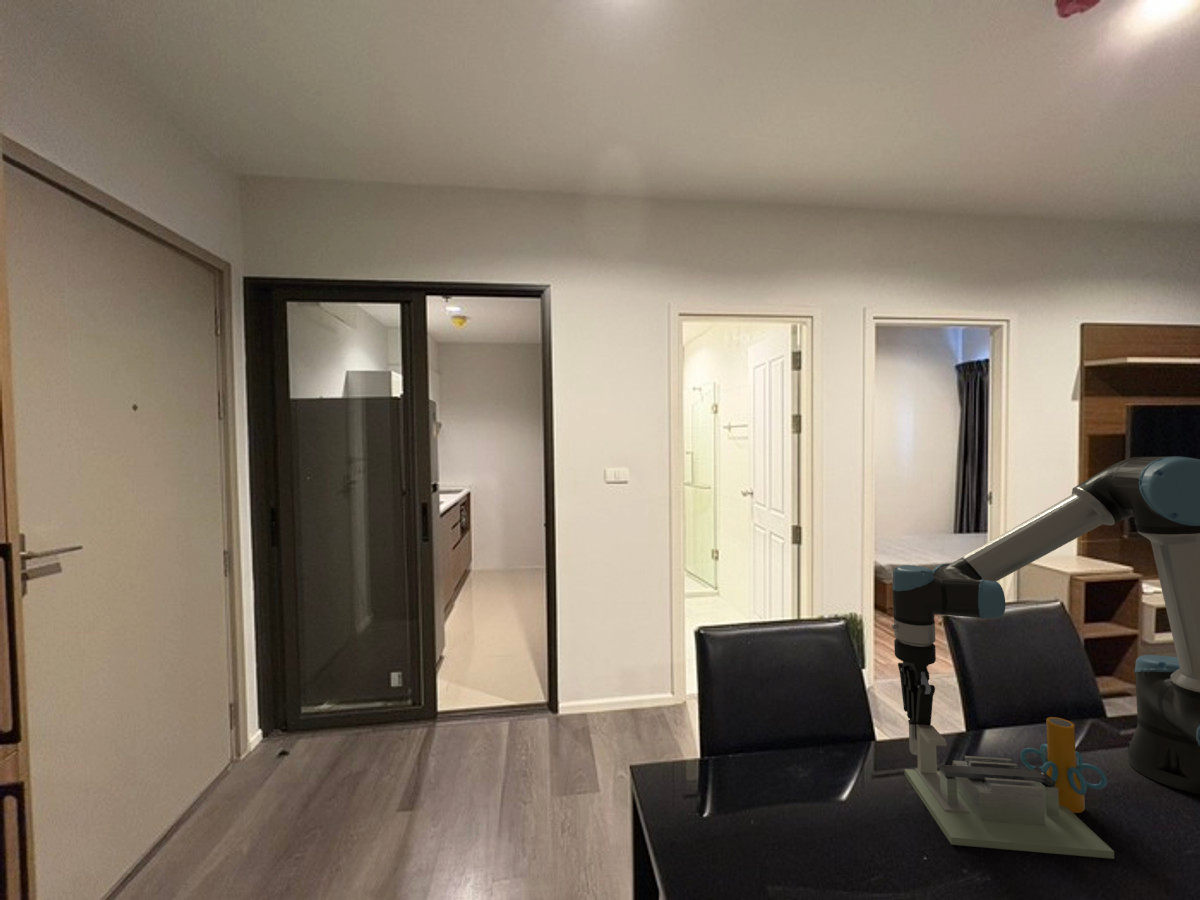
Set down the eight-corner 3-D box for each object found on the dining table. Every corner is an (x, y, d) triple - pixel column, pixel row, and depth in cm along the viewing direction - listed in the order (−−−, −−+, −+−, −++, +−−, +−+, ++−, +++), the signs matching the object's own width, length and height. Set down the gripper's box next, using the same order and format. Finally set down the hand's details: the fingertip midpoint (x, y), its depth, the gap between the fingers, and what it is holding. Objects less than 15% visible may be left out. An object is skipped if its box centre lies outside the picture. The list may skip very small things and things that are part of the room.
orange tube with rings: (1121, 828, 93) (1118, 741, 93) (1053, 822, 95) (1050, 737, 95) (1072, 786, 105) (1070, 708, 105) (1013, 781, 107) (1010, 705, 107)
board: (1035, 783, 106) (1035, 776, 106) (1114, 858, 86) (1113, 849, 86) (904, 774, 110) (904, 767, 110) (951, 844, 90) (951, 835, 90)
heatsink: (1034, 792, 102) (1033, 759, 102) (1071, 828, 92) (1069, 791, 92) (932, 784, 105) (931, 752, 105) (957, 819, 95) (956, 783, 95)
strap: (1041, 773, 99) (1040, 767, 99) (1055, 786, 95) (1055, 780, 95) (937, 767, 102) (936, 761, 102) (947, 780, 98) (946, 773, 98)
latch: (933, 769, 109) (932, 725, 109) (947, 787, 103) (946, 740, 103) (917, 768, 110) (916, 724, 110) (930, 786, 104) (929, 739, 104)
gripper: (884, 630, 120) (887, 735, 120) (907, 651, 107) (911, 769, 107) (920, 631, 119) (924, 738, 119) (948, 652, 106) (952, 772, 106)
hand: (917, 752), depth 113 cm, fingers closed
